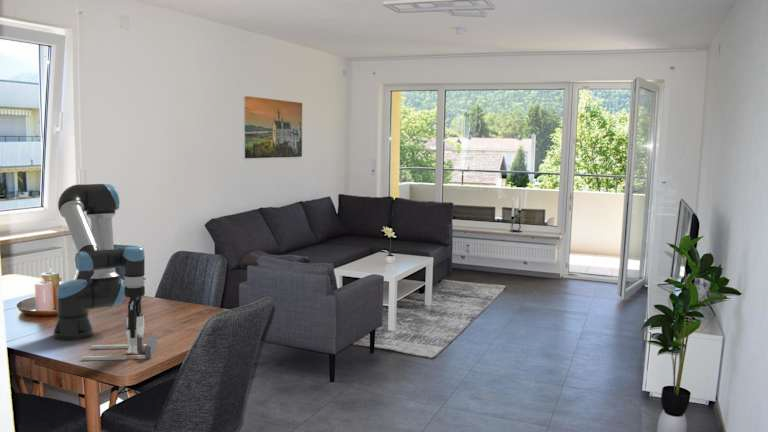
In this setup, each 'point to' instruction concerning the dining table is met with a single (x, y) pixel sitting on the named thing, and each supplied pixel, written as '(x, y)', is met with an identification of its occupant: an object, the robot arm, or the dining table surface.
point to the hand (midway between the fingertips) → (135, 342)
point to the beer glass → (140, 331)
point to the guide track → (148, 347)
